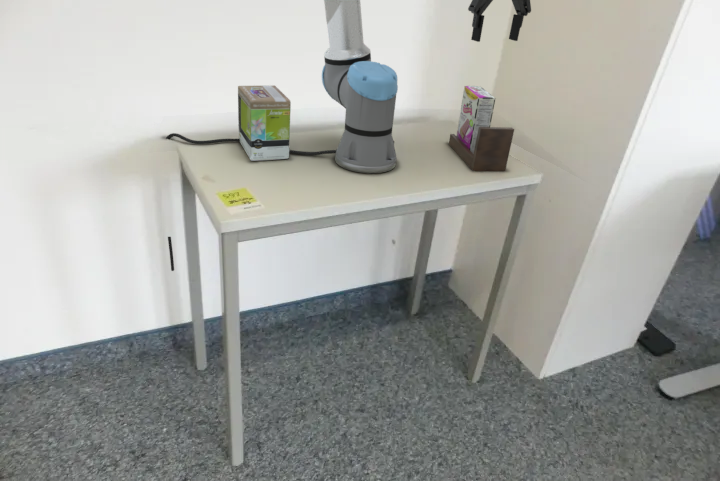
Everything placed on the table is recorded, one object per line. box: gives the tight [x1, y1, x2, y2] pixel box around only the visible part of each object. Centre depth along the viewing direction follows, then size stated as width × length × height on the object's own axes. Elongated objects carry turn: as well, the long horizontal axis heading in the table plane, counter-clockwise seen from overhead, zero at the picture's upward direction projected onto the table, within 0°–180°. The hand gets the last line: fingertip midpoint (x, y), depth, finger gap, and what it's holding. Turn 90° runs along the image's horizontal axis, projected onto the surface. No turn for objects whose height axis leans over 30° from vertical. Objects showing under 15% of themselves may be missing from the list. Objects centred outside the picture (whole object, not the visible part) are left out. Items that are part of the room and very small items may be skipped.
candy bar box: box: [456, 85, 497, 154], centre depth 150 cm, size 11×5×16 cm, turn 10°
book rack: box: [448, 126, 515, 172], centre depth 147 cm, size 9×20×11 cm, turn 10°
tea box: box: [237, 85, 292, 162], centre depth 139 cm, size 15×10×15 cm, turn 22°
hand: (494, 40), depth 153 cm, fingers open, 13 cm apart
